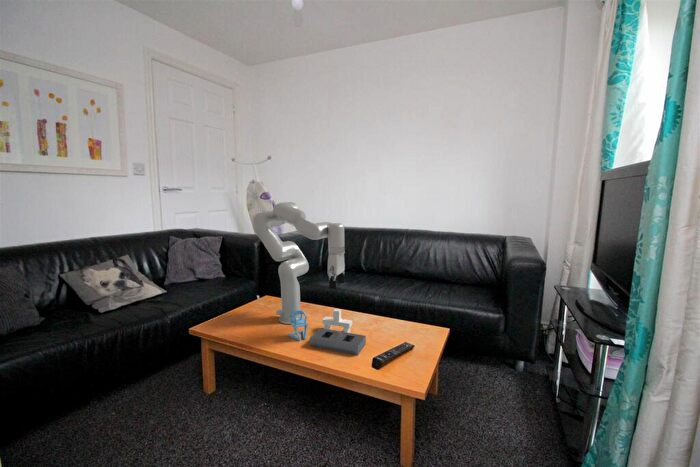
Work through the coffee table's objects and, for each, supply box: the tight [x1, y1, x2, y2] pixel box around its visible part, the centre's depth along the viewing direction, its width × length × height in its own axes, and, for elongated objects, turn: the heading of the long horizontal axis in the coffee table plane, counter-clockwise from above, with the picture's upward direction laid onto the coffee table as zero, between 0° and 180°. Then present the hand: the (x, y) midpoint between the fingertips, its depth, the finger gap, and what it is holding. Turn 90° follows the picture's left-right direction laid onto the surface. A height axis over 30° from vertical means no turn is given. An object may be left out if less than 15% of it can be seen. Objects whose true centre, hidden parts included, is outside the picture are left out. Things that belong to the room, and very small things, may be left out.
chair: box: [287, 310, 309, 342], centre depth 147 cm, size 8×8×12 cm
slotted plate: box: [309, 327, 367, 356], centre depth 139 cm, size 22×10×4 cm, turn 69°
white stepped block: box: [321, 308, 353, 333], centre depth 153 cm, size 14×4×10 cm, turn 69°
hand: (337, 285), depth 150 cm, fingers open, 9 cm apart
